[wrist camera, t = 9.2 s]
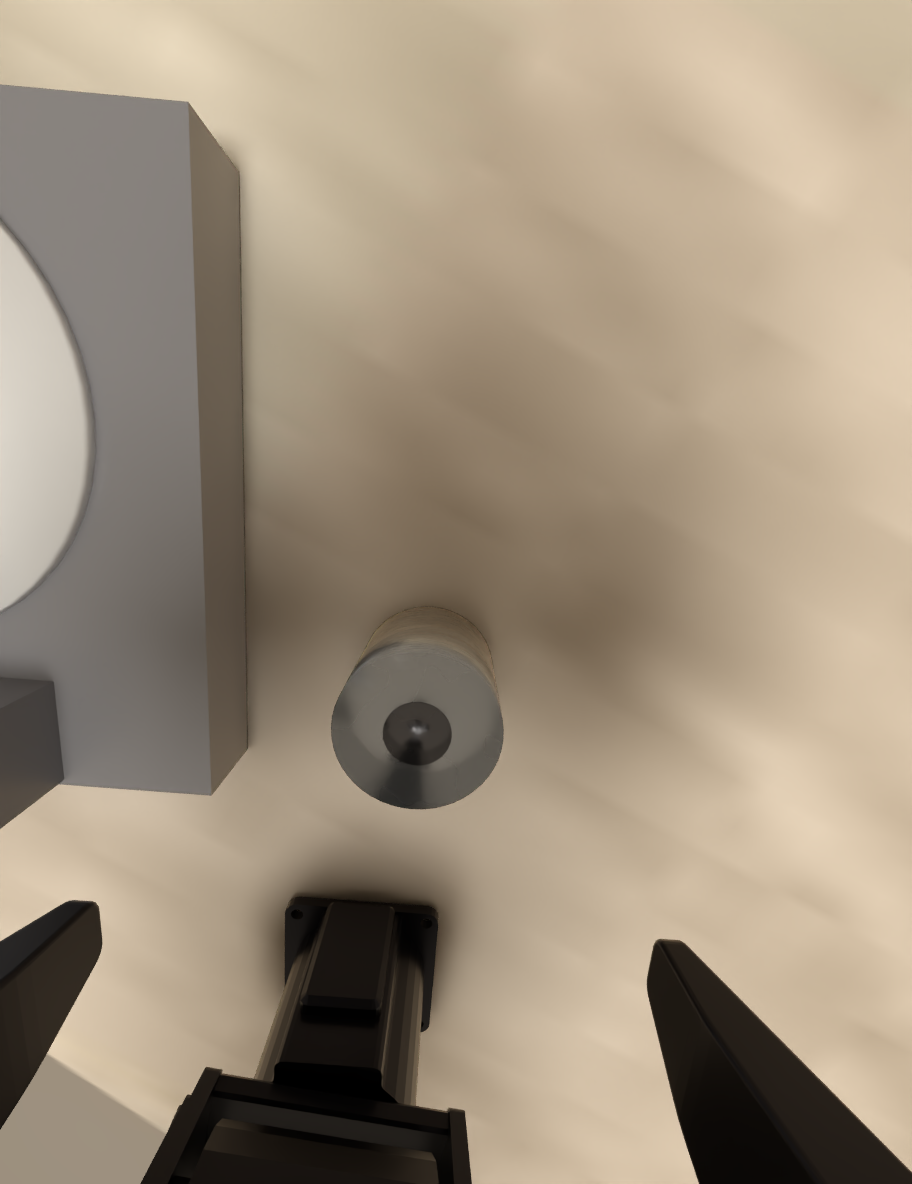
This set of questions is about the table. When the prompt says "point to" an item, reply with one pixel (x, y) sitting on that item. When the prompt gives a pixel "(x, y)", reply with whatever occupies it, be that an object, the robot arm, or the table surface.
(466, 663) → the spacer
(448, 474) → the table surface
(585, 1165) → the table surface
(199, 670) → the kitchen scale
